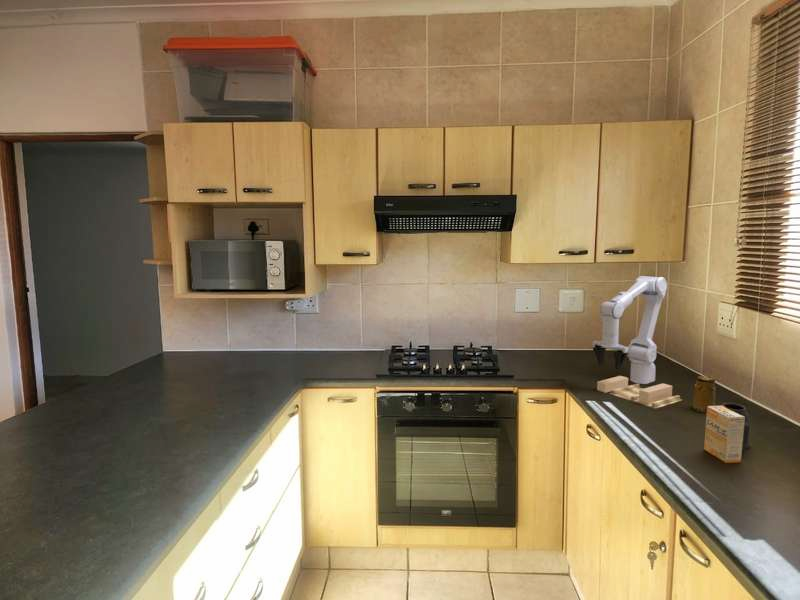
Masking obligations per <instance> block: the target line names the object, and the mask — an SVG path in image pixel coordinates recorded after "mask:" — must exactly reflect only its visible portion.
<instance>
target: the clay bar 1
mask: <svg viewBox="0 0 800 600" xmlns="http://www.w3.org/2000/svg"><path fill="white" fill-rule="evenodd" d="M596 383H597V385H596V386H597V387H596V390H597V391H598V392H602V393H604V394H605V393H609V392H610V393H611V392H612V390H615V389H619V388H623V387H627V386H629V377H627V376H622V375H617V376H615V377H614V376H613V377H610V378H606V379H602V380H599V381H597V382H596Z"/></svg>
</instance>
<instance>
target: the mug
mask: <svg viewBox="0 0 800 600" xmlns="http://www.w3.org/2000/svg"><path fill="white" fill-rule="evenodd" d="M721 406H724V407H725V408H727V409H730V410H732V411H734V412H736V413H738V414H740V415H742V416H744V417H745V421H744V432H743V443H742V451H746V450H749V449H751V443H750V437H749V436H750V414H749V412H748V411H747V407H745V406H744V405H742V404H738V403H734V402H723V403H722V405H721Z"/></svg>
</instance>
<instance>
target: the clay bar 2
mask: <svg viewBox="0 0 800 600" xmlns="http://www.w3.org/2000/svg"><path fill="white" fill-rule="evenodd" d="M669 397H673V385H670V384H667V383H659V384H656V385H652V386H648V387H646V388H643V389H641V390H639V402H641V403H644V404H647V405H649V404H652V403H653V402H656V401H659V400H663V399H666V398H669Z"/></svg>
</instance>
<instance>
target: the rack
mask: <svg viewBox="0 0 800 600" xmlns="http://www.w3.org/2000/svg"><path fill="white" fill-rule="evenodd" d="M641 389H644V388H643V387H640V384H639V383H634V384H630V385H628V386H627V387H623V388H619V389H615V390H612V391H611V392H610V393H609V392H608V393H609V395H613V396H615V397H618V398H621V399H625V400H628V401H631V402H634V403H637V404H641V405H643V406H646V407H650V408H653V409H659V408H661V407H662V408H663V407H665V406H669V405H671V404H675V403H678V402H681V401H682V399H681V396H680V395H678V394H677V395H672V397H669V398H666V399H663V400H659V401H656V402H653V403H652V404H649V405H647V404H644V403H641V402H639V390H641Z"/></svg>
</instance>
